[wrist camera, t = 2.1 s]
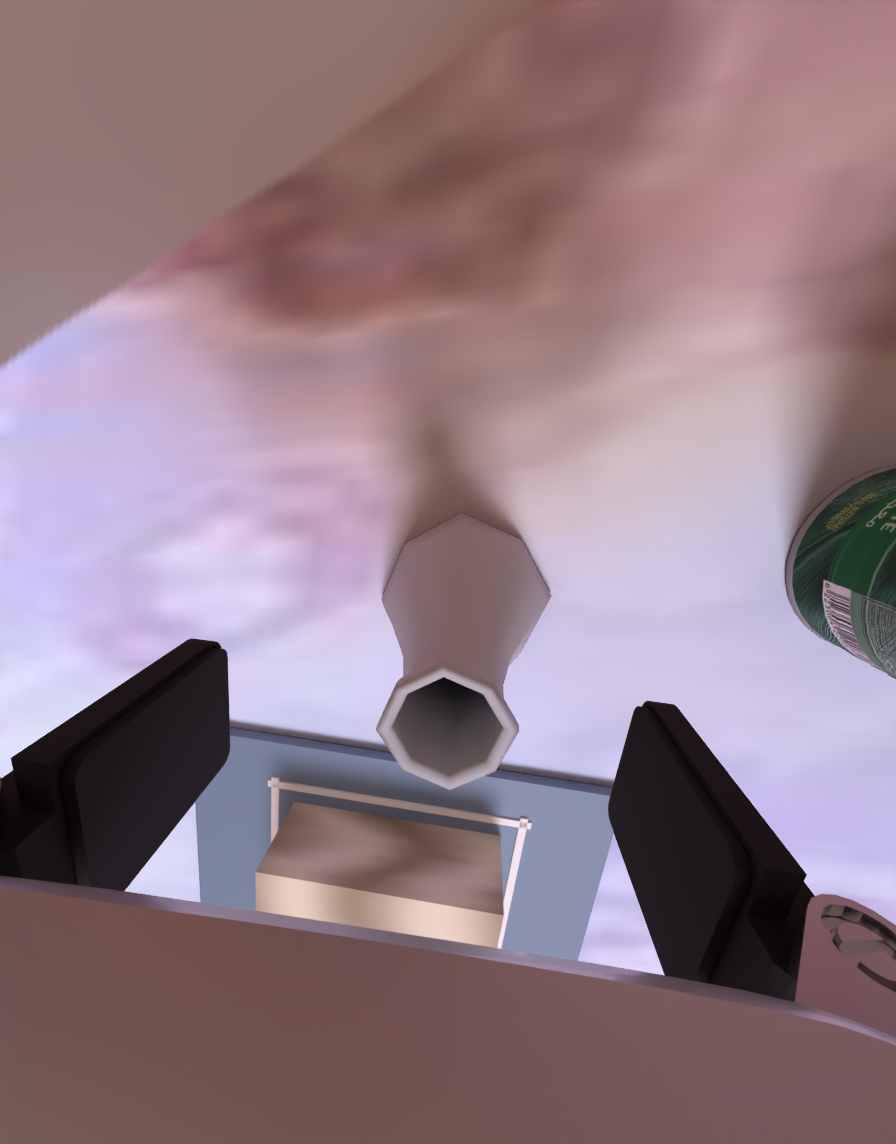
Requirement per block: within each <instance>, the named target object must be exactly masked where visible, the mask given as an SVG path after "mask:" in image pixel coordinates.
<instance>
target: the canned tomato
mask: <svg viewBox="0 0 896 1144" xmlns="http://www.w3.org/2000/svg"><path fill="white" fill-rule="evenodd" d="M786 586H787V592H788V597H789V600H790V603H791V605H792V607H793V609H794V611H795V614H796V615H797V616H798V617H799V619H800V620H801V621H802V623H803V624H804V625H805V626H806V627H807V628H808V629H810V630H811V631H812V632H813V633H815V634H816V635H817V636H818V637H820V638H821V639H824V640H826V641H828V642H830V643H832V644H834V645H836V646H839V647H841V648H842V649H844V650H846V651H847V652H849V653H850V654H852V655H853V656H855V657H857V658H859V659H861V660H864V661H866V662H867V663H869V664H870V665H871V666H873V667H875V668H877V669H879V670H882V671H884V672H886V673H887V674H888V675H889V676H891V677H893V678H895V679H896V465H892V466H887V467H884V468H880V469H877V470H874V471H871V472H868V473H865V474H863V475H861V476H859V477H857V478H855V479H853V480H851V481H849V482H848V483H846V484H844V485H843V486H841V487H840V488H839V489H837V490H836V491H835V492H833V493H832V494H830V495H829V496H828V497H827V498H826V499H825V500H824V501H823V502H822V503H821V504H820V505H819V506H818V507H817V508H816V509H814V510H813V511H812V513H811V514H810V515H809V517H808V518H807V520H806V521H805V522H804V524H803V525H802V527H801V528H800V530H799V532H798V534H797V536H796V538H795V540H794V542H793V544H792V546H791V550H790V553H789V557H788V561H787V565H786Z"/></svg>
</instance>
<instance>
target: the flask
mask: <svg viewBox="0 0 896 1144" xmlns="http://www.w3.org/2000/svg"><path fill="white" fill-rule="evenodd" d="M550 598H551V594H550V592H549V590H548V588H547V586H546V584H545V583H544V581H543V579H542V577H541V575H540V573H539V571H538V569H537V567H536V565H535V564H534V562H533V560H532V558H531V556H530V554H529V552H528V550H527V548H526V546H525V545H524V543H523V541H522V540H521V539H519V538H517V537H514V536H512V535H510V534H508V533H506V532H503V531H501V530H499V529H497V528H495V527H492V526H490V525H488V524H486V523H484V522H481V521H479V520H477V519H475V518H473V517H470V516H468V515H466V514H464V513H460V514H458V515H456V516H454V517H452V518H451V519H449V520H447V521H445V522H443V523H441V524H440V525H438V526H436V527H434V528H432V529H431V530H429V531H427V532H425V533H423V534H421V535H420V536H418V537H416V538H414V539H412V540H411V541H409V542H407V543H405V544H404V547H403V549H402V552H401V554H400V556H399V559H398V561H397V563H396V566H395V568H394V571H393V573H392V575H391V578H390V580H389V582H388V585H387V587H386V590H385V592H384V594H383V597H382V602H383V605H384V607H385V610H386V612H387V614H388V616H389V618H390V621H391V623H392V625H393V628H394V631H395V633H396V636H397V639H398V642H399V645H400V648H401V651H402V654H403V678H401V679H400V680H399V681H398V682H397V683H396V685H395V687H394V689H393V692H392V694H391V696H390V698H389V700H388V702H387V705H386V707H385V709H384V711H383V713H382V716H381V718H380V720H379V722H378V724H377V728H376V730H377V732H378V733H379V735H380V736H381V738H382V739H383V741H384V742H385V744H386V745H387V747H388V748H389V750H390V751H391V753H392V754H393V756H394V757H395V759H396V760H397V762H398V763H399V765H400V766H401V768H402V769H403V770H404V771H407V772H409V773H411V774H414V775H416V776H418V777H421V778H423V779H425V780H428V781H430V782H432V783H435V784H437V785H439V786H442V787H444V788H446V789H449V790H451V789H453V788H456V787H458V786H461V785H463V784H466V783H468V782H471V781H473V780H476V779H478V778H481V777H483V776H486V775H488V774H490V773H493V772H495V771H496V770H497V768H498V766H499V764H500V763H501V761H502V759H503V758H504V756H505V754H506V752H507V751H508V749H509V747H510V746H511V744H512V742H513V740H514V739H515V737H516V735H517V733H518V732H519V725H518V723H517V721H516V719H515V717H514V715H513V714H512V712H511V710H510V709H509V707H508V705H507V703H506V702H505V700H504V697H503V684H504V680H505V676H506V673H507V669H508V666H509V665H510V664H511V663H512V662H513V661H514V659H515V658H516V657H517V656H518V655H519V653H520V652H521V650H522V649H523V647H524V645H525V643H526V642H527V640H528V638H529V636H530V634H531V632H532V631H533V629H534V627H535V625H536V623H537V622H538V620H539V618H540V616H541V614H542V612H543V611H544V609H545V607H546V605H547V603H548V601H549V600H550Z"/></svg>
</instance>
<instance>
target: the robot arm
mask: <svg viewBox="0 0 896 1144" xmlns="http://www.w3.org/2000/svg"><path fill="white" fill-rule="evenodd" d="M229 752H230V722H229V690H228V658H227V652H226V650H224V649H221V646H220V644H219V643H218V642H214V641H207V640H200V639H189V640H187V641H185V642H184V643H182V644H181V645H179V646H178V647H176V648H175V649H173V650H172V651H170V652H169V653H167V654H166V655H164V656H163V657H161V658H160V659H159V660H157V661H156V662H154V663H153V664H151V665H150V666H148V667H147V668H145V669H144V670H142V671H141V672H139V673H138V674H136V675H135V676H133V677H132V678H130V679H129V680H127V681H126V682H124V683H123V684H121V685H120V686H118V687H117V688H115V689H114V690H112V691H111V692H109V693H108V694H106V695H105V696H103V697H102V698H100V699H99V700H97V701H96V702H94V703H93V704H91V705H90V706H88V707H87V708H85V709H84V710H82V711H81V712H79V713H78V714H76V715H75V716H73V717H72V718H70V719H69V720H67V721H66V722H64V723H63V724H61V725H60V726H58V727H57V728H55V729H54V730H52V731H51V732H49V733H48V734H46V735H45V736H43V737H42V738H40V739H39V740H37V741H36V742H34V743H33V744H31V745H30V746H28V747H27V748H25V749H24V750H22V751H21V752H19V753H18V754H16V755H15V756H13V757H12V758H11V761H12V766H13V771H12V772H10V773H9V774H7V775H6V776H4V777H3V778H2V779H1V778H0V1144H896V926H895V925H894V924H893V923H891V922H890V921H888V920H887V919H885V918H884V917H882V916H881V915H879V914H878V913H876V912H875V911H873V910H871V909H869V908H867V907H865V906H863V905H861V904H859V903H857V902H855V901H853V900H850V899H847V898H843V897H840V896H837V895H829V894H820V895H818V896H814V894H813V893H812V892H811V891H810V889H809V888H808V887H807V885H806V884H805V883H804V879H805V877H806V875H807V874H806V873H805V872H804V871H803V869H802V868H801V867H800V865H799V864H798V863H797V862H796V860H795V859H794V858H793V856H792V855H791V854H790V852H789V851H788V850H787V849H786V847H785V846H784V845H783V843H782V842H781V841H780V840H779V838H778V837H777V836H776V834H775V833H774V832H773V830H772V829H771V828H770V827H769V825H768V824H767V823H766V821H765V820H764V819H763V818H762V816H761V815H760V814H759V812H758V811H757V810H756V809H755V807H754V806H753V805H752V803H751V802H750V801H749V799H748V798H747V797H746V796H745V794H744V793H743V792H742V790H741V789H740V788H739V787H738V785H737V784H736V783H735V781H734V780H733V779H732V778H731V776H730V775H729V774H728V772H727V771H726V770H725V768H724V767H723V766H722V765H721V763H720V762H719V761H718V759H717V758H716V757H715V756H714V754H713V753H712V752H711V750H710V749H709V748H708V747H707V745H706V744H705V743H704V741H703V740H702V739H701V737H700V736H699V735H698V734H697V732H696V731H695V730H694V728H693V727H692V726H691V725H690V723H689V722H688V721H687V719H686V718H685V717H684V715H683V714H682V713H681V712H680V710H679V709H678V708H677V707H676V706H675V705H673V704H666V703H659V702H652V701H646V702H645V703H644V704H643V706H642V707H640V706H638V707H636V708H635V710H634V712H633V716H632V720H631V723H630V727H629V730H628V734H627V738H626V741H625V745H624V748H623V752H622V756H621V759H620V763H619V766H618V770H617V774H616V777H615V781H614V784H613V788H612V792H611V795H610V799H609V803H608V815H609V820H610V823H611V826H612V829H613V832H614V835H615V837H616V840H617V843H618V846H619V849H620V851H621V854H622V857H623V860H624V863H625V865H626V868H627V871H628V874H629V877H630V879H631V882H632V885H633V888H634V890H635V893H636V896H637V899H638V902H639V904H640V907H641V910H642V913H643V916H644V918H645V921H646V924H647V927H648V930H649V932H650V935H651V938H652V941H653V944H654V946H655V949H656V952H657V955H658V958H659V960H660V963H661V966H662V969H663V972H664V974H665V976H663V975H658V974H652V973H647V972H641V971H636V970H630V969H624V968H618V967H611V966H605V965H599V964H593V963H586V962H580V961H574V960H568V959H562V958H555V957H549V956H543V955H537V954H530V953H524V952H518V951H512V950H506V949H499V948H493V947H487V946H481V945H474V944H468V943H462V942H455V941H449V940H442V939H436V938H430V937H423V936H417V935H410V934H404V933H397V932H391V931H384V930H378V929H371V928H365V927H358V926H352V925H345V924H339V923H332V922H326V921H319V920H313V919H306V918H300V917H293V916H287V915H280V914H273V913H267V912H260V911H253V910H246V909H240V908H233V907H226V906H219V905H212V904H206V903H199V902H192V901H185V900H178V899H172V898H165V897H158V896H151V895H145V894H138V893H131V892H124V891H125V889H126V888H127V887H128V886H129V884H130V883H131V882H132V881H133V879H134V878H135V877H136V876H137V874H138V873H139V872H140V871H141V869H142V868H143V867H144V866H145V864H146V863H147V862H148V860H149V859H150V858H151V857H152V855H153V854H154V853H155V852H156V850H157V849H158V848H159V847H160V845H161V844H162V843H163V842H164V840H165V839H166V838H167V836H168V835H169V834H170V833H171V831H172V830H173V829H174V828H175V826H176V825H177V824H178V823H179V821H180V820H181V819H182V818H183V816H184V815H185V814H186V813H187V811H188V810H189V809H190V807H191V806H192V805H193V804H194V802H195V801H196V800H197V799H198V797H199V796H200V795H201V794H202V792H203V791H204V790H205V789H206V787H207V786H208V785H209V784H210V782H211V781H212V780H213V778H214V777H215V776H216V775H217V773H218V772H219V771H220V770H221V768H222V767H223V766H224V764H225V763H226V761H227V759H228V756H229Z"/></svg>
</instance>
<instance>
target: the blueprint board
mask: <svg viewBox="0 0 896 1144" xmlns="http://www.w3.org/2000/svg"><path fill="white" fill-rule="evenodd" d="M611 792H612V788H611V787H604V786H598V785H592V784H585V783H579V782H573V781H566V780H560V779H554V778H547V777H541V776H535V775H528V774H522V773H516V772H510V771H503V770H496V771H495V772H493V773H490V774H488V775H486V776H483V777H481V778H478V779H476V780H473V781H471V782H468V783H466V784H463V785H461V786H458V787H456V788H453V789H451V790H449V789H446V788H444V787H442V786H439V785H437V784H435V783H432V782H430V781H428V780H425V779H423V778H421V777H418V776H416V775H414V774H411V773H409V772H407V771H404V770H403V769H402V768H401V766H400V765H399V763H398V762H397V760H396V759H395V757H394V756H393V754H392V753H390V752H383V751H377V750H371V749H364V748H358V747H352V746H345V745H339V744H333V743H327V742H320V741H314V740H308V739H301V738H295V737H289V736H282V735H276V734H270V733H263V732H257V731H251V730H244V729H238V728H232V727H230V752H229V756H228V759H227V761H226V763H225V764H224V766H223V767H222V768H221V770H220V771H219V772H218V773H217V775H216V776H215V777H214V778H213V780H212V781H211V782H210V784H209V785H208V786H207V787H206V789H205V790H204V791H203V792H202V794H201V795H200V796H199V797H198V799H197V800H196V801H195V805H196V824H197V842H198V861H199V880H200V899H201V903H206V904H212V905H219V906H226V907H233V908H240V909H246V910H253V911H256V870H257V868H258V867H259V865H260V863H261V861H262V859H263V857H264V856H265V854H266V852H267V850H268V848H269V847H270V845H271V843H272V841H273V839H274V837H275V836H276V834H277V832H278V830H279V828H280V826H281V825H282V823H283V821H284V819H285V817H286V816H287V814H288V812H289V810H290V808H291V806H292V805H293V803H294V802H300V803H306V804H312V805H318V806H324V807H330V808H336V809H342V810H348V811H354V812H360V813H366V814H372V815H378V816H384V817H390V818H396V819H402V820H408V821H414V822H420V823H426V824H432V825H438V826H444V827H450V828H456V829H462V830H468V831H475V832H481V833H487V834H493V835H499V836H501V857H502V882H503V907H504V917H503V922H502V927H501V932H500V936H499V941H498V946H497V948H499V949H506V950H512V951H518V952H524V953H530V954H537V955H543V956H549V957H555V958H562V959H568V960H574V961H577V960H578V957H579V953H580V950H581V946H582V943H583V939H584V936H585V932H586V929H587V925H588V921H589V918H590V914H591V911H592V907H593V904H594V900H595V897H596V893H597V890H598V886H599V882H600V879H601V875H602V872H603V868H604V865H605V861H606V858H607V854H608V851H609V847H610V843H611V840H612V836H613V833H614V832H613V829H612V826H611V823H610V820H609V815H608V803H609V799H610V795H611Z"/></svg>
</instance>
